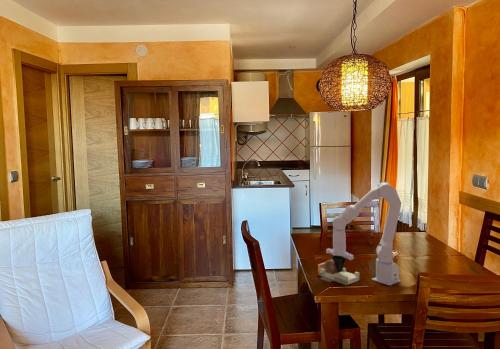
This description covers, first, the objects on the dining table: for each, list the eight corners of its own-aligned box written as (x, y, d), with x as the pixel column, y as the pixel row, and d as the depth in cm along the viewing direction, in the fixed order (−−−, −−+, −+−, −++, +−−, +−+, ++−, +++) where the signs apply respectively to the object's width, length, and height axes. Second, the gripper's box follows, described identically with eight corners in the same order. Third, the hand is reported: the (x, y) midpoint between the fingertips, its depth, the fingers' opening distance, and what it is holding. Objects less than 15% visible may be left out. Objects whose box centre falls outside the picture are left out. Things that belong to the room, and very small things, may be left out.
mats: (360, 277, 179) (360, 276, 179) (338, 285, 170) (338, 284, 170) (341, 271, 188) (341, 271, 188) (319, 278, 179) (319, 278, 179)
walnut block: (340, 271, 182) (340, 261, 181) (333, 274, 179) (333, 263, 178) (332, 269, 186) (332, 258, 185) (325, 271, 183) (325, 261, 182)
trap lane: (359, 280, 175) (359, 269, 175) (346, 285, 170) (346, 273, 170) (331, 270, 189) (331, 260, 189) (318, 275, 184) (317, 264, 183)
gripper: (321, 241, 181) (322, 269, 182) (345, 247, 169) (346, 277, 170) (331, 238, 185) (332, 266, 186) (356, 244, 173) (356, 274, 175)
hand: (339, 271), depth 179 cm, fingers closed
